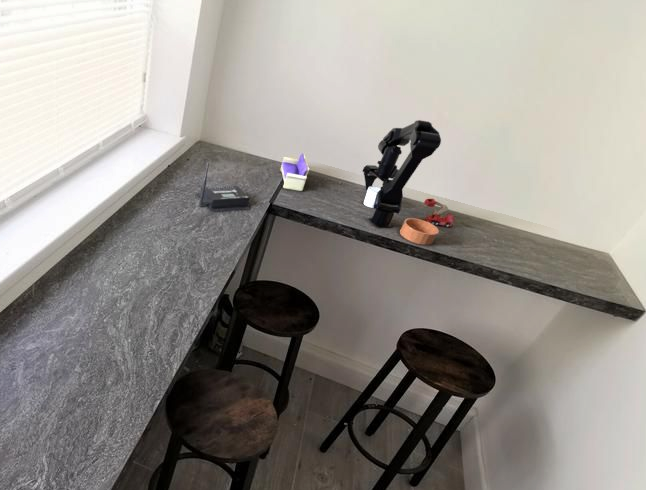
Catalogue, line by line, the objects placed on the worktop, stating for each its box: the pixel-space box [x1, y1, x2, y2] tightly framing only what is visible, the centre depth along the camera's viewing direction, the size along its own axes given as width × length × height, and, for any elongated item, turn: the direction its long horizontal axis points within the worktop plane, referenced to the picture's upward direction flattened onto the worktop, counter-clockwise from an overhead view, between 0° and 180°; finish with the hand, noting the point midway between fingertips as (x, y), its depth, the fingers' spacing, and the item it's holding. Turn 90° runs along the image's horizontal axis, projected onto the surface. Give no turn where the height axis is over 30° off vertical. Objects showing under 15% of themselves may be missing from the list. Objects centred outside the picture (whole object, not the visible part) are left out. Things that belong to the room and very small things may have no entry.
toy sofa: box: [279, 153, 310, 192], centre depth 213 cm, size 21×9×10 cm, turn 172°
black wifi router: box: [198, 162, 251, 212], centre depth 185 cm, size 20×14×17 cm
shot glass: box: [363, 185, 381, 209], centre depth 204 cm, size 7×7×7 cm
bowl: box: [399, 217, 440, 246], centre depth 187 cm, size 12×12×4 cm
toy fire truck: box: [424, 198, 455, 228], centre depth 197 cm, size 3×14×10 cm, turn 84°
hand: (373, 196), depth 204 cm, fingers open, 9 cm apart
